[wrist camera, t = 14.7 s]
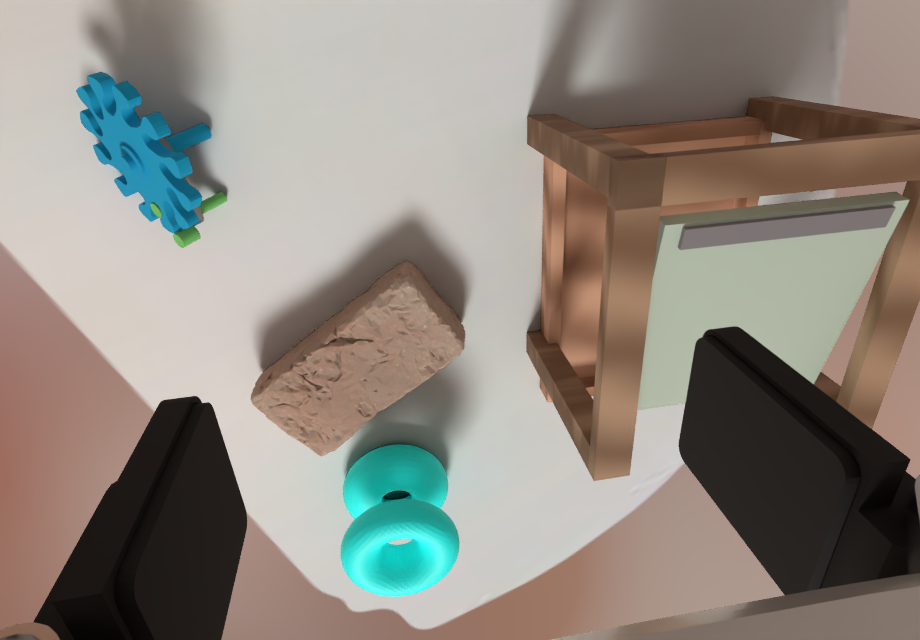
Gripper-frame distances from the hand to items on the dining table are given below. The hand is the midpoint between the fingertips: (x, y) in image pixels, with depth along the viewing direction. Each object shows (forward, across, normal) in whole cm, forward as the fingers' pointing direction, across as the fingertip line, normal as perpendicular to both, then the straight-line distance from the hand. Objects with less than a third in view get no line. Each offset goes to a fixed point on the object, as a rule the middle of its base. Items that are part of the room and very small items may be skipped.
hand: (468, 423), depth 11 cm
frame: (+33, -20, +11) cm, 40 cm away
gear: (+34, +16, 0) cm, 37 cm away
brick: (+34, +4, +17) cm, 38 cm away
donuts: (+34, +3, +32) cm, 46 cm away
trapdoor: (+19, -20, +9) cm, 29 cm away
